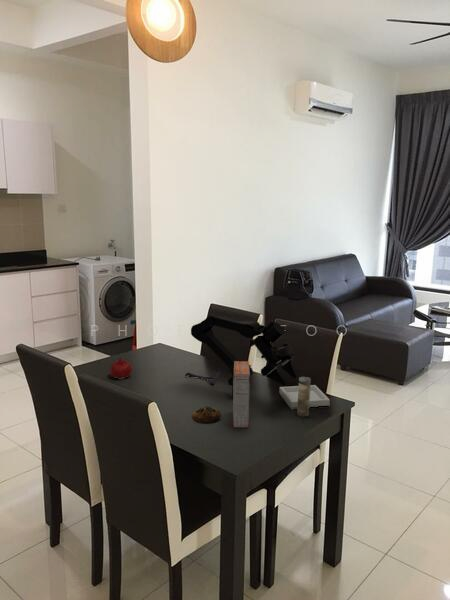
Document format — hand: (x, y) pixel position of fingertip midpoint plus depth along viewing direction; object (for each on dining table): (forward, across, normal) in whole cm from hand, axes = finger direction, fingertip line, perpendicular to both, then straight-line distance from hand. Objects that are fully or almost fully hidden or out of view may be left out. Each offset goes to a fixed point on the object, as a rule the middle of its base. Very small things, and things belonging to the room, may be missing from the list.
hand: (290, 381), depth 196 cm
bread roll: (-8, -24, +25) cm, 35 cm away
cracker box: (0, -18, +17) cm, 25 cm away
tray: (+9, +13, +8) cm, 18 cm away
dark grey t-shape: (-25, +9, +44) cm, 51 cm away
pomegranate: (-48, -11, +65) cm, 81 cm away
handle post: (+13, 0, +5) cm, 13 cm away
